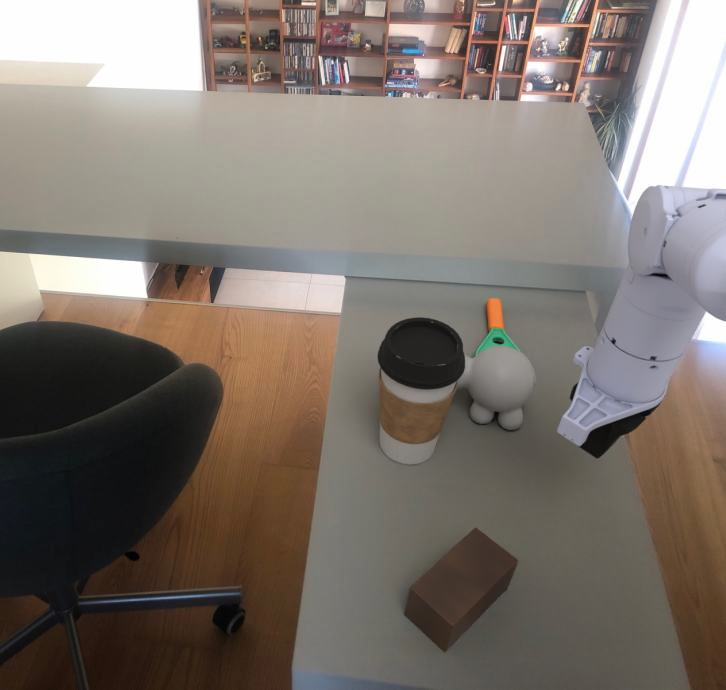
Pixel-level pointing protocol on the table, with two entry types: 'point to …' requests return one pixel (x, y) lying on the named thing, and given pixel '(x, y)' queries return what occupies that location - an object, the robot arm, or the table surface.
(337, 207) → the table surface
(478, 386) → the toy rhinoceros
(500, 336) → the vegetable peeler
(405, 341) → the coffee cup
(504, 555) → the brown wooden block
